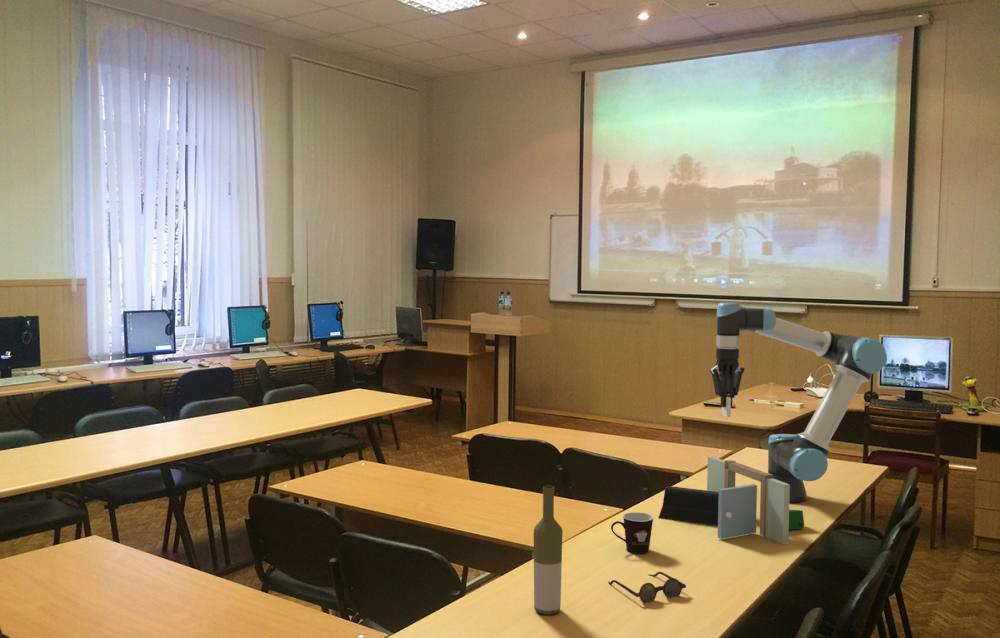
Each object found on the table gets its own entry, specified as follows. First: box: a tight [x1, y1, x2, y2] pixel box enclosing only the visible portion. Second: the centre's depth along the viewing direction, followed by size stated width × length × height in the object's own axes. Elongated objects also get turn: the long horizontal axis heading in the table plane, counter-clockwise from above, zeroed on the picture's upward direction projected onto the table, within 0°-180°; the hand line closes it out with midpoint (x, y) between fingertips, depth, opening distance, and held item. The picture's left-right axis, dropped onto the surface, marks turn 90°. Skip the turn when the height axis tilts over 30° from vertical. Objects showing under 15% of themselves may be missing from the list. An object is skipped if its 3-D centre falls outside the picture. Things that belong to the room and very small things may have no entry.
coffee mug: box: [610, 511, 654, 555], centre depth 221 cm, size 12×9×10 cm
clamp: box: [789, 509, 805, 531], centre depth 242 cm, size 12×6×9 cm, turn 96°
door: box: [717, 484, 758, 540], centre depth 232 cm, size 14×3×15 cm, turn 115°
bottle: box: [533, 484, 563, 615], centre depth 180 cm, size 7×7×30 cm
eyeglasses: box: [607, 571, 687, 604], centre depth 194 cm, size 15×15×5 cm
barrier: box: [658, 485, 719, 528], centre depth 250 cm, size 24×9×10 cm, turn 65°
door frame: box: [706, 456, 790, 545], centre depth 245 cm, size 3×38×19 cm, turn 20°
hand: (726, 416), depth 260 cm, fingers closed
